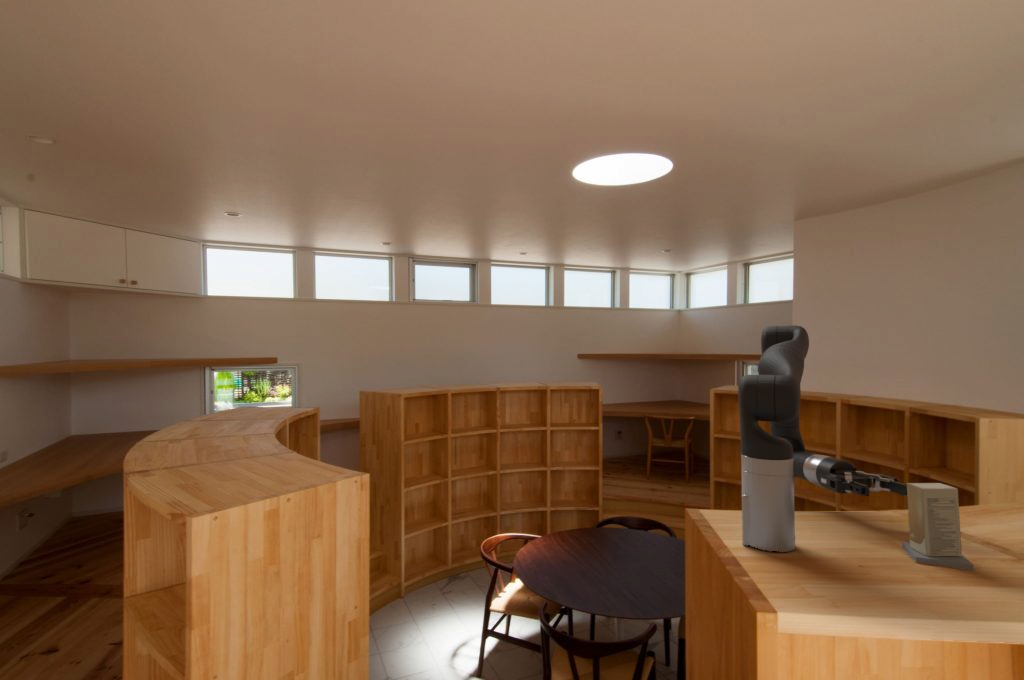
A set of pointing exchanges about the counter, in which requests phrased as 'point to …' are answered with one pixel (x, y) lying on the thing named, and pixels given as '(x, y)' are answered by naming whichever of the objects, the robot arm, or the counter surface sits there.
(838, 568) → the counter surface
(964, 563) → the grey square slab
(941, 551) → the skincare box
